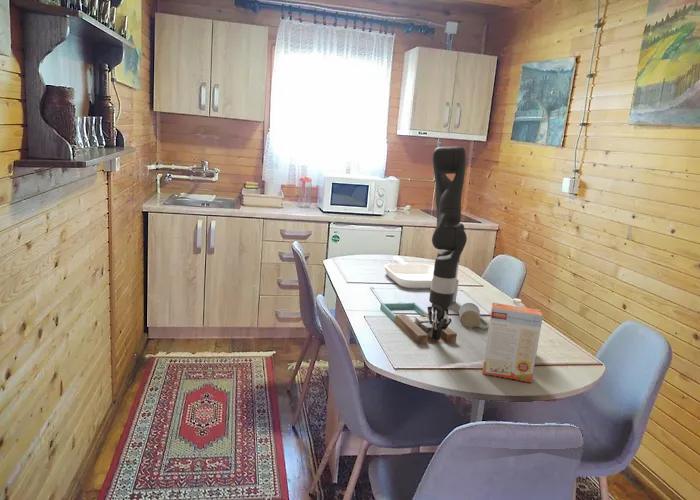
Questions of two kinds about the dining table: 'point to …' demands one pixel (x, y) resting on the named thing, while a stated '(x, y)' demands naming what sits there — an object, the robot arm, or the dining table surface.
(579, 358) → the dining table surface
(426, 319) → the metal block
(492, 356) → the cracker box
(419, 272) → the pan
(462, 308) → the ceramic mug
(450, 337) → the walnut slot board
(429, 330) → the metal block
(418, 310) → the teal tray
